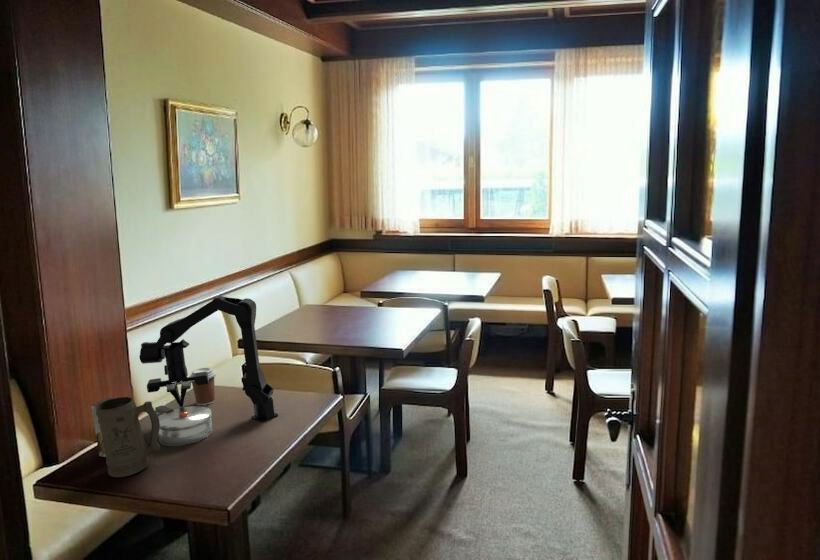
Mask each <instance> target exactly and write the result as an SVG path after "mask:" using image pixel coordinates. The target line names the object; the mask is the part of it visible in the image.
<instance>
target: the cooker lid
mask: <svg viewBox="0 0 820 560" xmlns="http://www.w3.org/2000/svg"><path fill="white" fill-rule="evenodd" d="M154 410H155V412H156V413H157V414H159V413H160V414H162V415H160V416H159V423H160V428H159V429H162V430H182V429H187V428H192V427H195V426H198V425H201V424H203V423H205V422H206V421H208V420H209V419H210V418H211V419H212V416H213V413H212V412H213V411H212V410H211V408H209V407H208V406H207V407H206V406H200V405H194V406H192V405H191V406H184V407H179V408H171V407H167V406H165V405H163V404H162V405H158V406H156V407H154Z"/></svg>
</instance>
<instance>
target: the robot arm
mask: <svg viewBox="0 0 820 560" xmlns="http://www.w3.org/2000/svg"><path fill="white" fill-rule="evenodd" d="M218 311H219V312H223V313H225V314H227V315H231V316H234V318H235V320H236V322H237V324H238V326H239V329H240V332H241V337H242V339H241V340H242V346H243V347H242V348H243V353H244V361H245V368H246V372H245V373H244V375H243V376H242V377H241V383H242V391H244V393H245V395H246V396H247V397H248V398H250V400H251V403H252V404H253V411H254V412H253V413H254V415H252V416H250V417H251V418H250V419H253V420H255V421H256V420H257V421H260V422H266V421H269V420H271V419H273V418H276V417H278V416H279V414H278V413H276V412H275V409H274V407H275V406H274V398H272V396H273V394H274V391H275V389H274V388H273V387H272V386H271V385H270V384H268V383H267V381H266V378H265V374H264V372H263V370H262V369H261V365H260V358H259V353H258V343H257V337H256V335H257V334H256V328H255V323H256V318H257V303H256V301H255V300H253V299H251V298H247V297H246V298H241V299H240V298H237V297H228V296H223V295H218V296H216V297H214V298H213V299H212V300H211V301H209V302H208V303H206V304H205V305H204V304H203V306H201V307H200V308H198V309H196V310H195V311H193V312H191V313H190V314H188V315H187V316H184V317H182V318H178V319H176V320H174V321H170V322H169V323H168V324H166V325H165V326H162V328H161V329H160V331H159V338H158V339H157V341H154V342H153V341H152V342H148V341H145V342H142V343H141V344H140V351H139V356H138V357H139V360H140V362H141V364H143V365H144V364H155V363H162V362H163V360H165V363H166V364H165V365H163V367H164V369H163V370H164V375H166V376H167V380H162V378H161V377H159V378H152V379H149V380H148V381H147V384H146V390H147V393H155V392H159V390H160V389H161V388H164V387H165V388H166V393H170V394H171V395H172V396H173V398H174V399H175V401H176V403H177V404H178V406H179V408H183V406H184V402H185V396H186V394H187V392H188V390H190V389H191V388H192V387H191V386H192V382H195V383H196V384H197V385H204V384H208V380H209V378H208V373H207V372H199V373H195V376H193V377H189V376H188V375H189V374H188V368H187V365H186V360H185V353H184V349H186V348H187V347H189V345H190V343H189V342H188V341H186V340H185V339H184V338H182V339H181V340H180V341H177V340H178V339H179V338H181V337H182V336H184V334H185V333H187V331H189V330H190V329H191V328H192V327H194V326H195V325H197V324H198V323H200V322H202V321H203V320H205V319H206V318H208V317H210V316H211V315H213V314H214V313H216V312H218ZM176 341H177V342H176ZM167 344H169V345H167ZM178 385H180V386H181V387H180V391H179V388H178V387H179V386H178Z"/></svg>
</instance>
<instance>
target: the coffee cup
mask: <svg viewBox="0 0 820 560" xmlns="http://www.w3.org/2000/svg"><path fill="white" fill-rule="evenodd" d="M199 372H207V373H208V378H209V380H208V384H204V385H197V384H196V383H195V382H192V383H191V386H192V389H193V393H194V399H195V403H197V404H198V405H197V404H196V405H197V406H200V405H203V406H208V405H207V404H209V405H212V404H214V403H215V402H216V396H215V395H216V392H215V388H216V387H215V377H216V376H217V373H216V372H215V371H214V370H213V368H212V367H198V368H195V369H193V370H192V371H191V374H190V375H189V376H188V377H193V376H195V373H199ZM213 402H214V403H213ZM211 403H212V404H211Z"/></svg>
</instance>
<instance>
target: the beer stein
mask: <svg viewBox="0 0 820 560" xmlns="http://www.w3.org/2000/svg"><path fill="white" fill-rule="evenodd" d="M141 413H146V414H148V416H149V419H150V421H151V435H150V440H149V441H150V442H149V443H148V444H146V442H145V438H144V434H143V431H142V428H141V423H140V419H139V415H140V414H141ZM157 414H158V412H156V411H155V408H154V407H153V402H152V401H150V400H148V401H145V402H144V403H143V404H141V405H138V406H137V404H136V402H135V400H134V398H133V397H131V396H130V397H129V396H123V397H122V396H121V397H115V398H114V399H110V400H106V401H104V402H102V403H100V404H98V405H97V407H96V415H97V417H98V419H99V423H100V428H101V433H102V439H103V444H104V449H105V454H106V457H105V458H106V461H105V464H106V466H107V472H108V473H107V474H108V475H109V476H110V477H112V478H123V477H128V476H132V475H135V474H137V473H139V472H141V471H143V470H144V469H145V468H147V467H148V466H149V464H150V459H149V456H148V454H149V453H150V452H153V451H154V452H159V451H160V449H161V443H159V442H158V439H159V436H158V434H159V428H160V423H159V417H158V415H157Z"/></svg>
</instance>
